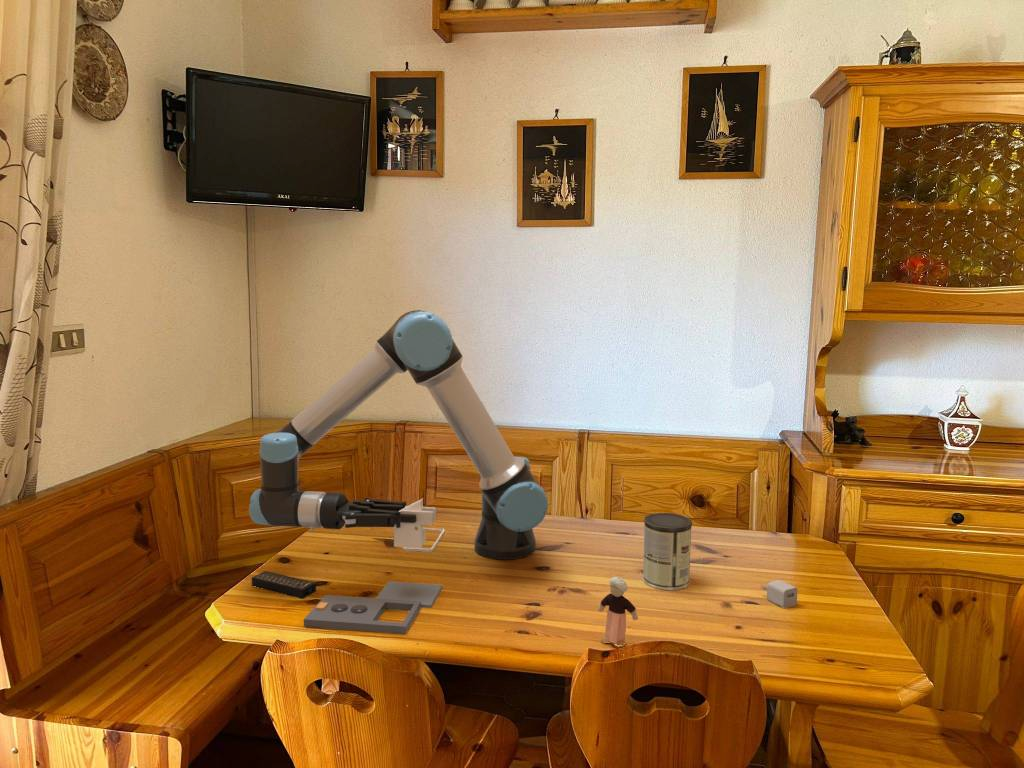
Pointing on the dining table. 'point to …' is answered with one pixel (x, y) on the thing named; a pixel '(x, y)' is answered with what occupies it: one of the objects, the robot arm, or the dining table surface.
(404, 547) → the phone case
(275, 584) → the multiport hub
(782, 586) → the usb wall charger
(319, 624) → the grey control panel
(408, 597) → the rubber mat
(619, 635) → the grandmother figurine
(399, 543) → the white wedge bracket
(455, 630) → the dining table surface
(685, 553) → the coffee can
